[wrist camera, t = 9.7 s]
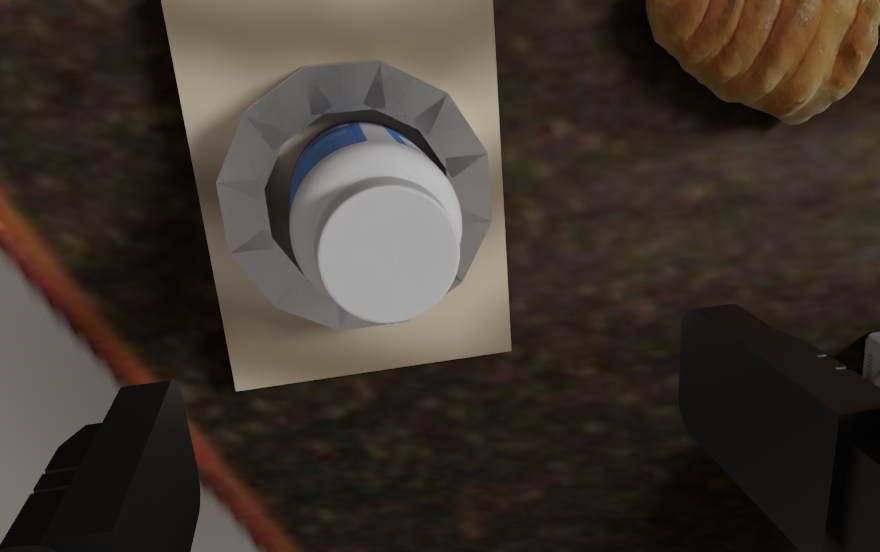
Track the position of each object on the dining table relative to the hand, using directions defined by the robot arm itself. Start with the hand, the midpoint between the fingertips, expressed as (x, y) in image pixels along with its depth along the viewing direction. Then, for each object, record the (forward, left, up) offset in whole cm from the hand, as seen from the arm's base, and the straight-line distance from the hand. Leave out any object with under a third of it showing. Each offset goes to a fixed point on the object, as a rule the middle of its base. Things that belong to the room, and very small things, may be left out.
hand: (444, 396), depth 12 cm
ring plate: (0, 0, -20) cm, 20 cm away
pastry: (-4, +17, -21) cm, 27 cm away
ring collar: (0, 0, -19) cm, 19 cm away
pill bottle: (0, 0, -19) cm, 19 cm away
